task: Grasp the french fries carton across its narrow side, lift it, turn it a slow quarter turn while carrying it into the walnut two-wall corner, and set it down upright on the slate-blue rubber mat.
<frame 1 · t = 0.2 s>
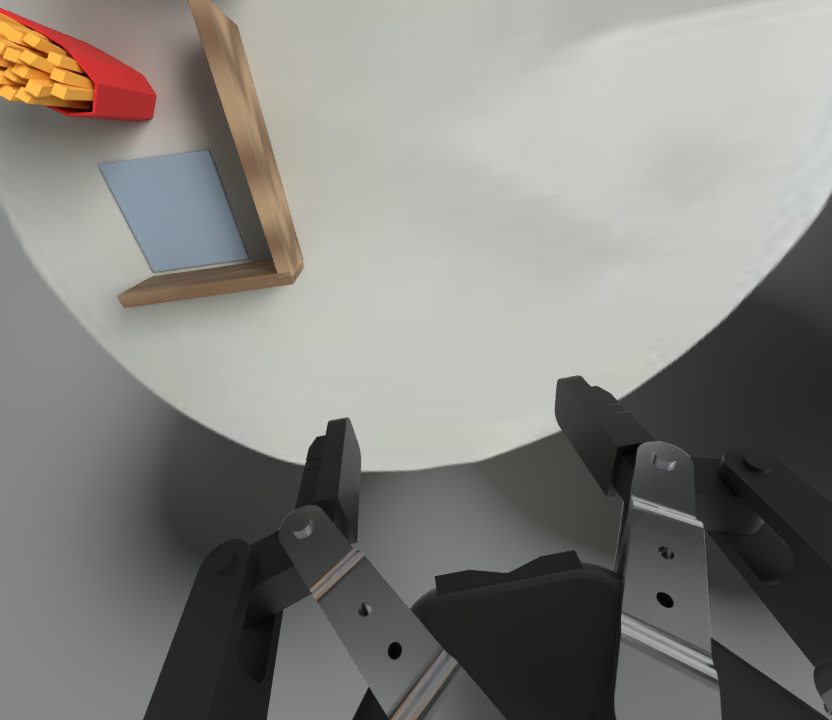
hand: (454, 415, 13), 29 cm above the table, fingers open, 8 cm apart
french fries: (111, 83, 29), on the table
wooden corner bracket: (190, 159, 32), on the table
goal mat: (180, 214, 34), on the table
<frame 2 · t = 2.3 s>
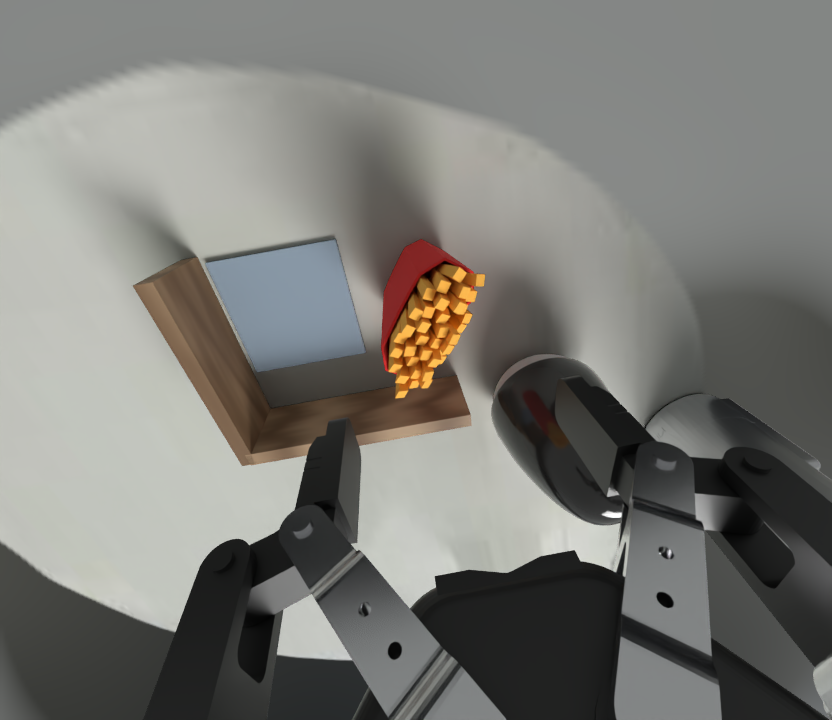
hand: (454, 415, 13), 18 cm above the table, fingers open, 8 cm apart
pump dispenser: (530, 381, 35), on the table
french fries: (414, 276, 28), on the table
wooden corner bracket: (355, 332, 30), on the table
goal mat: (293, 310, 29), on the table
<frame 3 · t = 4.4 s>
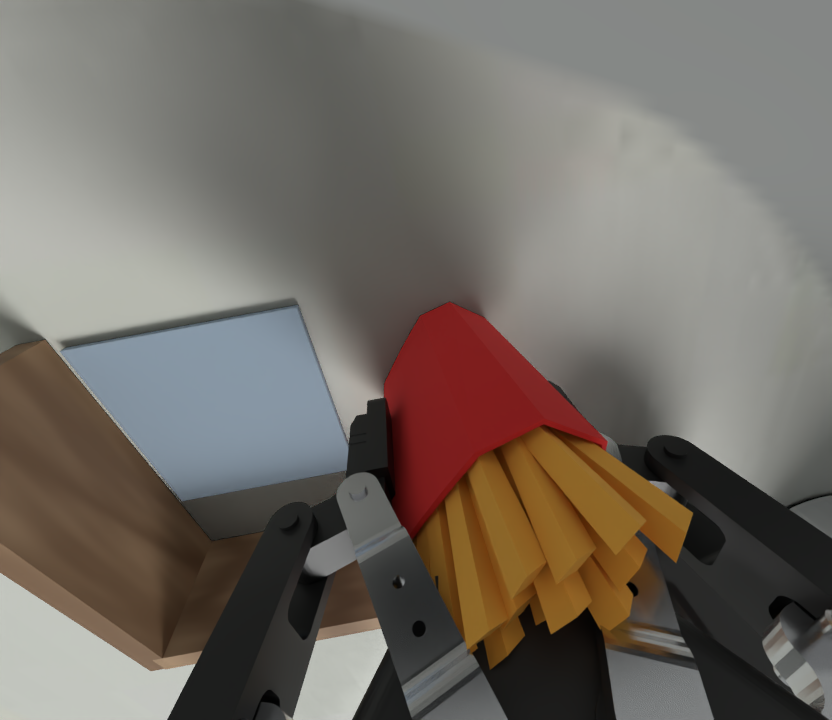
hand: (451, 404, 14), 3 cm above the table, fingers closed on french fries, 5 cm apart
pump dispenser: (601, 489, 24), on the table
french fries: (436, 358, 17), on the table, touching gripper
wooden corner bracket: (337, 441, 19), on the table
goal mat: (232, 415, 17), on the table
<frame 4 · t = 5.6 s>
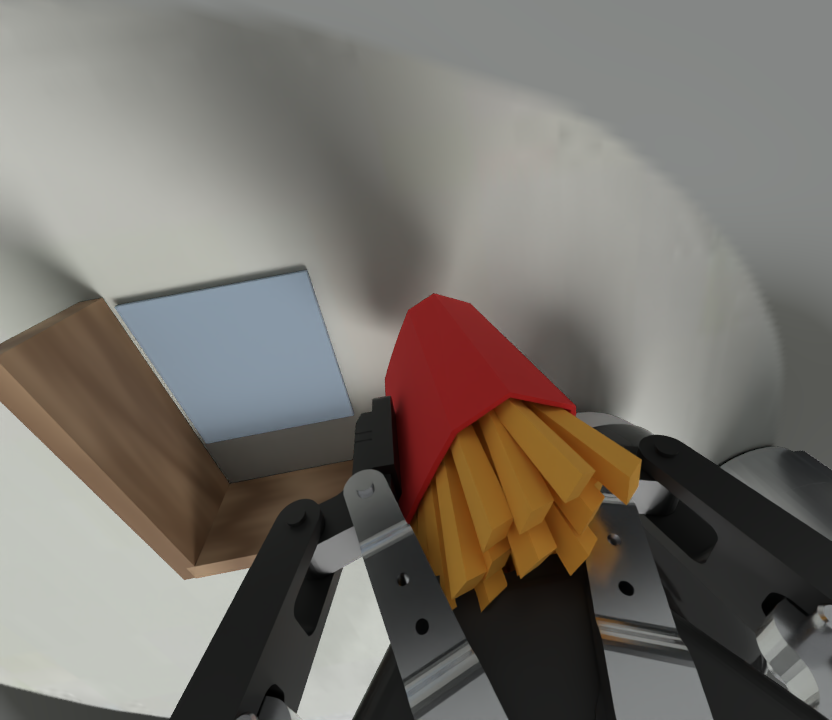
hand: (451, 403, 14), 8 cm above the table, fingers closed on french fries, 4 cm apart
pump dispenser: (566, 439, 28), on the table
french fries: (430, 348, 18), point 3 cm above the table, touching gripper
wooden corner bracket: (338, 390, 22), on the table
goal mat: (251, 365, 21), on the table
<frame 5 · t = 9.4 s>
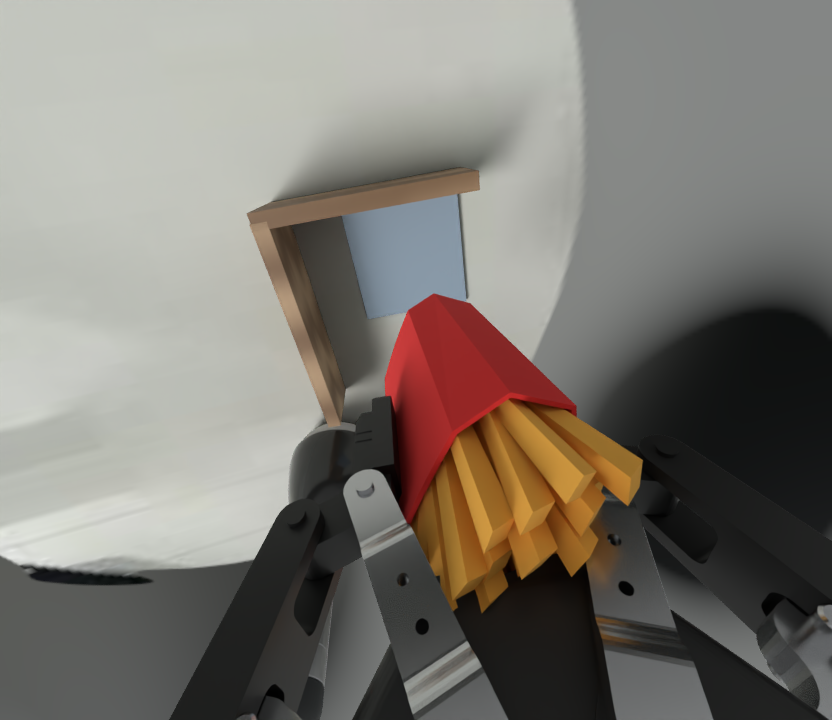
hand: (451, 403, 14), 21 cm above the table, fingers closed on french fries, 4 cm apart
pump dispenser: (341, 439, 43), on the table
french fries: (430, 348, 18), point 17 cm above the table, touching gripper
wooden corner bracket: (386, 309, 34), on the table
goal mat: (408, 259, 32), on the table
when the fingers open (5 cm above the table, at t = 13.3 s): french fries stays where it is, resting on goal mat.
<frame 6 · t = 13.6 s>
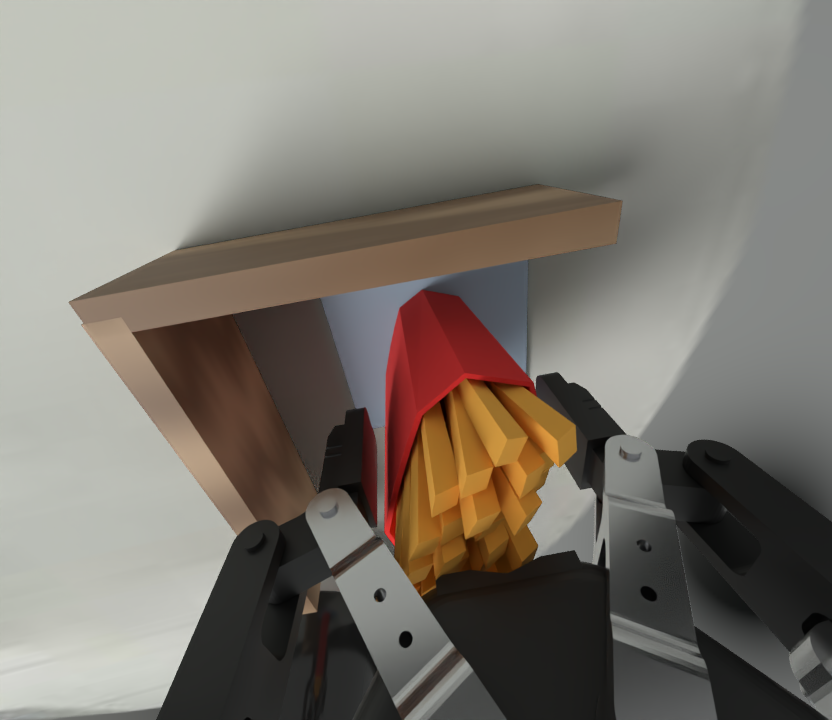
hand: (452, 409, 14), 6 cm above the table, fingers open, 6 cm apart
pump dispenser: (324, 574, 29), on the table
french fries: (426, 342, 18), resting on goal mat
wooden corner bracket: (393, 414, 21), on the table
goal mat: (433, 341, 18), on the table
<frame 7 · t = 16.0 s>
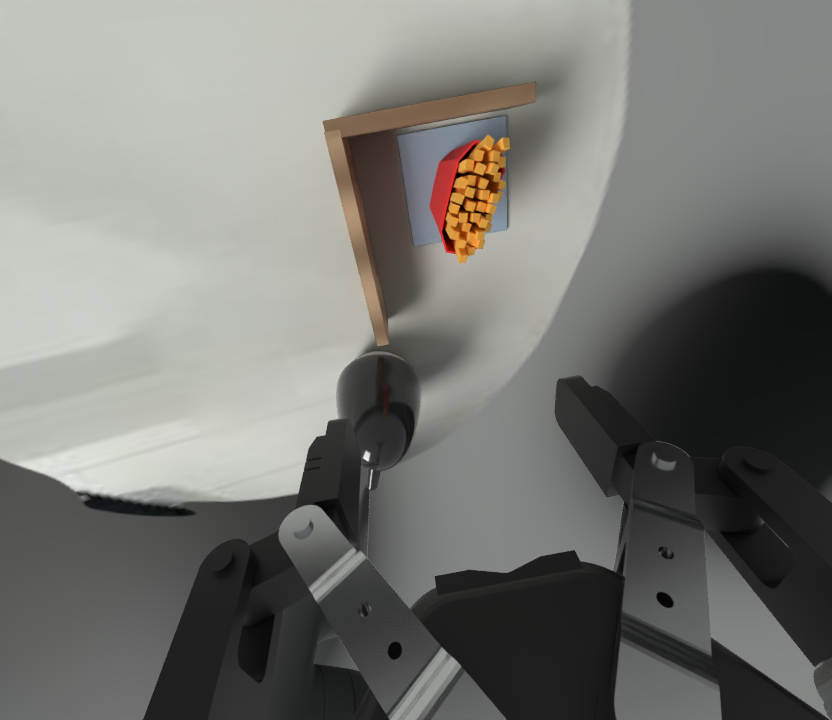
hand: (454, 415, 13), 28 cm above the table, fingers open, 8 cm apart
pump dispenser: (379, 372, 46), on the table
french fries: (451, 186, 34), resting on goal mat
wooden corner bracket: (431, 237, 37), on the table
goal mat: (455, 186, 34), on the table
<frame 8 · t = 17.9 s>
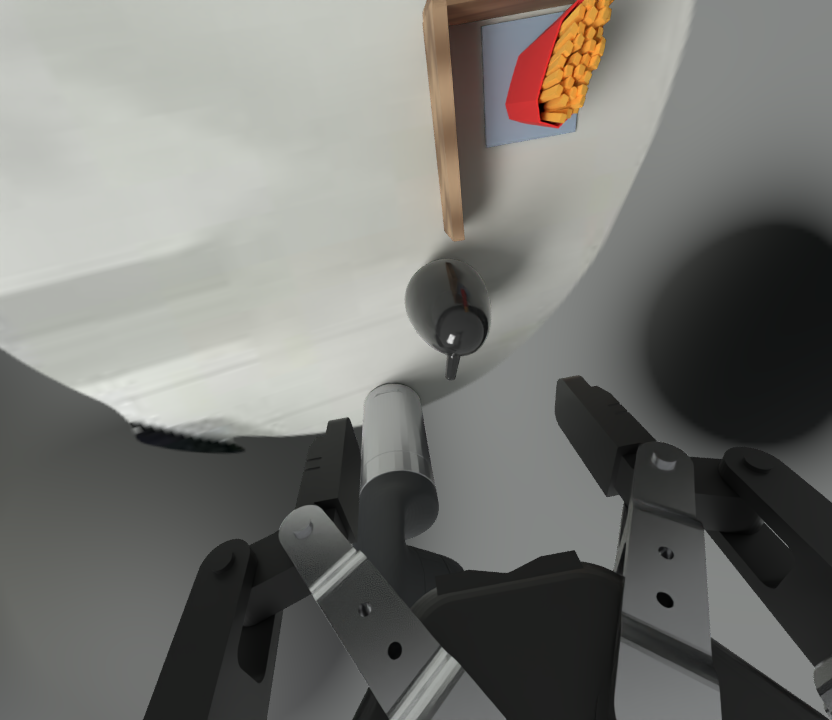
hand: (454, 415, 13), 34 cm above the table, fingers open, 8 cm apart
pump dispenser: (440, 289, 47), on the table
french fries: (527, 83, 36), resting on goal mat
wooden corner bracket: (503, 139, 38), on the table
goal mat: (531, 83, 36), on the table
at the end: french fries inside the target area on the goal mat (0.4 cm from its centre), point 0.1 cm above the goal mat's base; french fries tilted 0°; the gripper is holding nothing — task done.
